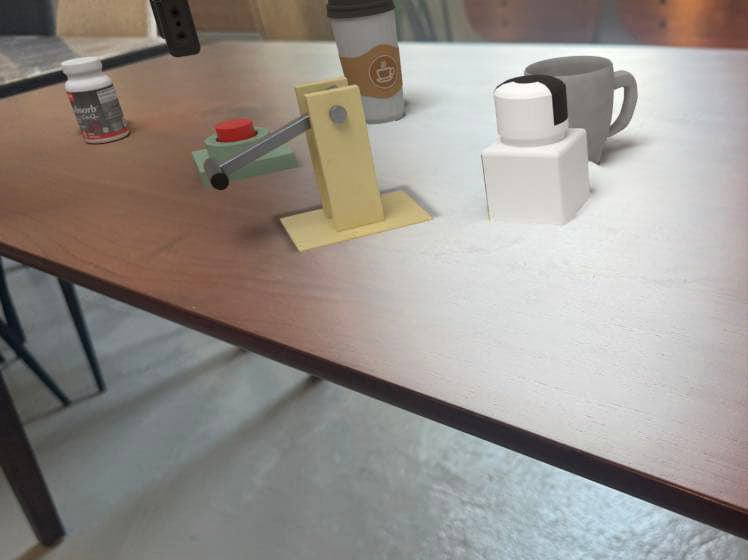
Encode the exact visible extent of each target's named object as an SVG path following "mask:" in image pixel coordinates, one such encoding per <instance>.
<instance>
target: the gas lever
mask: <svg viewBox="0 0 748 560" xmlns="http://www.w3.org/2000/svg"><path fill="white" fill-rule="evenodd" d="M335 88H338V87H337V86H336V85H333V86H331V87H329V88H328V89H326V90H329V89H335ZM310 128H311V124H310V120H309V116H308V112H307V113H305V114H303V115H302V116H301V115H300V116H298V117H296V118H294V119H293V120H291V121H289V122H287V123H286V124H284V125H283V126H280V127H279V128H277V129H275V130H274V131H272V132H270V134H268V135H267V136H265V137H263V138H261V139H260V140H258V141H256V142H254V143H253V144H251V145H249V146H247V147H246V148H244V149H242V150H240V151H239V152H237V153H235V154H234V155H232V156H230V157H228V158H227V159H225V160H223V161H221V162H220V161H219V160H217V159H216V158H208V159H206V160H205V162H204V165H203V167H204V170H205V172H206V174H207V176H208V178H209V181H210V183H211V185H212V186H211V187H212V188H213V189H215V190H217V191H224V190H226V189H227V188H228V187H229V186H230V182H229V178H228V176H229V175H230V174H232V173H234V172H236V171H237V170H239V169H241V168H243V167H244V166H246V165H248V164H250V163H251V162H253V161H255V160H256V159H258V158H260V157H262V156H263V155H265V154H267V153H269V152H270V151H272V150H274V149H276V148H277V147H279V146H281V145H283V144H284V143H286V144H287V143H288V142H290V141H291V140H293V139H295V138H297V137H299V136H301V135H302V134H303V133H305V131H307V130H309V129H310Z"/></svg>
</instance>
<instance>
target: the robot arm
mask: <svg viewBox="0 0 748 560" xmlns="http://www.w3.org/2000/svg"><path fill="white" fill-rule="evenodd" d="M148 1H149V5H150V8H151V11H152V14H153V18H154V21H155V25H156V28H157V32H158V34H159V36H160V38H161V39H163V40H164V41H165V45H166V47H167V50H168V53H169V54H170V56H171V57H173V58H183V57H190V56H196V55H198V54H199V53H200V52H201V49H202V48H201V43H200V40H199V36H198V32H197V30H196V26H195V22H194V19H193V18H194V17H193V14H192V11H191V8H190V3H189V0H148Z"/></svg>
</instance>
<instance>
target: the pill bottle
mask: <svg viewBox="0 0 748 560" xmlns="http://www.w3.org/2000/svg"><path fill="white" fill-rule="evenodd" d="M60 67H61V70H62V72H63V74H64V75H65V76H66V77H67V80H66V82H65V84H64V89H65V92H66V95H67V98H68V100H69V103H70V105H71V108H72V111H73V114H74V116H75V119H76V122H77V124H78V127H79V130H80V132H81V135H82V138H83V140H84V141H85V142H86V143H88V144H106V143H111V142H116V141H118V140H121V139H123V138H126V137H127V136H128V135H129V132H130V130H129V127H128V124H127V121H126V118H125V115H124V112H123V109H122V107H121V104H120V100H119V98H118V95H117V92H116V89H115V86H114V83H113V80H112V79H111V77H110V76H109V75H107V74H105V73H104V72H103V63H102V61H101V58H100V57H99V56H84V57H77V58H72V59H68V60H67V59H66V60H65V61H62V62H61V63H60Z"/></svg>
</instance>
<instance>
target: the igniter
mask: <svg viewBox="0 0 748 560" xmlns="http://www.w3.org/2000/svg"><path fill="white" fill-rule="evenodd" d="M254 130H255V133H256V136H254V137H252V138H249V139H246V140H241V141H236V142H226V143H223V142H219V140H218V136H217V133H213V134H210V136H208V137H207V138H206V139H204V141H203V142H204V145H205V148H203V149H198V150H193V151H191V153H190V154H191V156H192V159H193V162H194V165H195V169H196V172H197V174H198V176H199V178H200V181H201V183H202V186H203V188H208V187H213V186H212V185H211V183H210V181H209V178H208V176H207V174H206V172H205V170H204V167H203V165H204V162H205V160H206V159H208V158H216V159H217V160H219V161H220V162H221V161H223V160H225V159H227V158H228V157H230V156H232V155H234V154H235V153H237V152H239V151H240V150H242V149H244V148H246V147H247V146H249V145H251V144H253V143H254V142H256V141H258V140H260V139H261V138H263V137H265V136H267V135H268V134H270V133H271V132H270V131H269V129H268V128H267V127H262V126H261V127H260V126H254ZM296 168H298V163H297V159H296V156H295V152H294V151H293V150H292V148H291V147H290V146H289V145H288V144H287V142H286V143H284V144H283V145H281V146H279V147H277V148H276V149H274V150H272V151H270V152H269V153H267V154H265V155H263V156H262V157H260V158H258V159H256V160H255V161H253V162H251V163H250V164H248V165H246V166H244V167H243V168H241V169H239V170H237V171H236V172H234V173H232V174H230V175H229V176H228V178H229V183H231V182H235V181H240V180H245V179H250V178H254V177H259V176H264V175H268V174H272V173H278V172H282V171H287V170H292V169H296Z"/></svg>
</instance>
